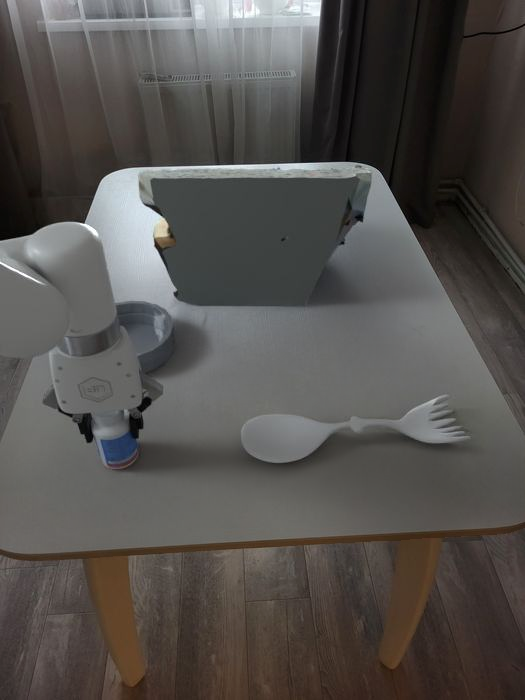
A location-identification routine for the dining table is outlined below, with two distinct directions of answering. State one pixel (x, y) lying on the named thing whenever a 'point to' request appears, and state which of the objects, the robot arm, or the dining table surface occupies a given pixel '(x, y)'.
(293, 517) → the dining table surface
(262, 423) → the spoon
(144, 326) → the pan
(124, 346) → the robot arm
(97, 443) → the pill bottle
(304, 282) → the basket
